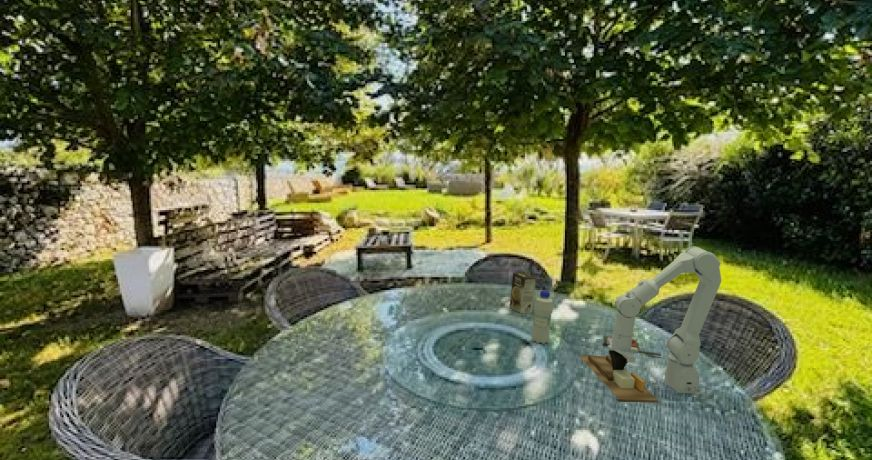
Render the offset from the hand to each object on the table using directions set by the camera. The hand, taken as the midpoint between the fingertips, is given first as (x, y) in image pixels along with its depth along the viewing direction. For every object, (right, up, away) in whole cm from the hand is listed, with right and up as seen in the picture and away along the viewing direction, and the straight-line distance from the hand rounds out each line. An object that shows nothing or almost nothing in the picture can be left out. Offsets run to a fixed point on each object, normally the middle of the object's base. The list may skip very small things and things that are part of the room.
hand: (616, 374), depth 154 cm
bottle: (-19, +4, +26) cm, 32 cm away
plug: (0, -2, -4) cm, 4 cm away
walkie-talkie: (+15, +1, +27) cm, 30 cm away
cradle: (0, -2, +1) cm, 2 cm away
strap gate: (+4, -2, -6) cm, 7 cm away
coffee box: (-20, +10, +63) cm, 67 cm away
